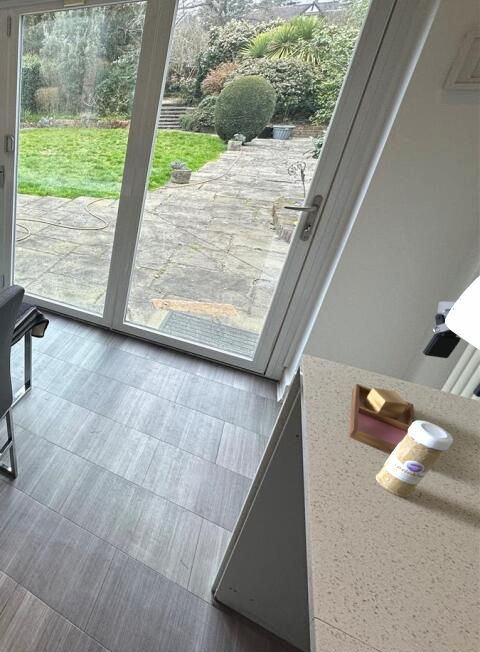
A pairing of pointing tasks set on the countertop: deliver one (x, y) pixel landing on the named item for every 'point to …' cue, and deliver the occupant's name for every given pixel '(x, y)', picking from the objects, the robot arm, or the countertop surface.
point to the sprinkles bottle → (413, 457)
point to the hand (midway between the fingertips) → (458, 375)
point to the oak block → (386, 402)
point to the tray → (377, 423)
